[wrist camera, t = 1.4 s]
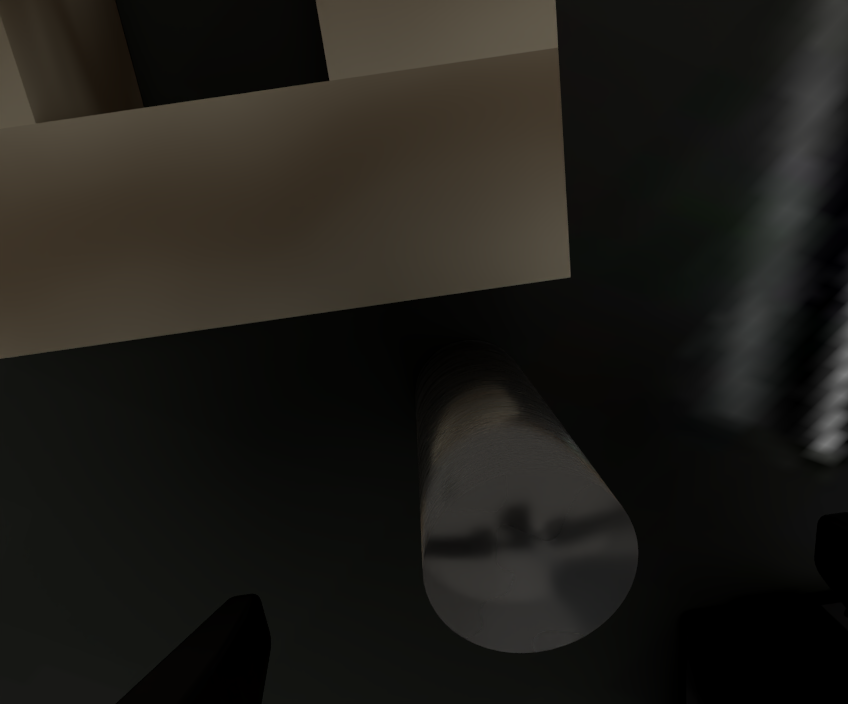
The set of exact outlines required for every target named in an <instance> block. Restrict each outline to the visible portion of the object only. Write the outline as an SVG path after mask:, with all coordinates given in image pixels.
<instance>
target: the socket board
mask: <svg viewBox="0 0 848 704" xmlns="http://www.w3.org/2000/svg"><path fill="white" fill-rule="evenodd" d="M316 5H317V11H318V16H319V22H320V28H321V34H322V40H323V45H324V51H325V57H326V63H327V69H328V74H329V80H330V81H325V82H318V83H311V84H304V85H298V86H291V87H284V88H277V89H270V90H263V91H256V92H249V93H243V94H236V95H229V96H222V97H215V98H208V99H201V100H195V101H188V102H181V103H174V104H167V105H160V106H153V107H146V108H144V105H143V102H142V98H141V94H140V91H139V87H138V83H137V79H136V76H135V72H134V68H133V65H132V61H131V57H130V53H129V50H128V46H127V42H126V39H125V35H124V31H123V28H122V24H121V20H120V16H119V13H118V9H117V5H116V2H115V0H0V359H2V358H9V357H16V356H23V355H30V354H37V353H44V352H51V351H58V350H65V349H72V348H79V347H86V346H93V345H100V344H107V343H114V342H121V341H128V340H135V339H142V338H149V337H156V336H163V335H170V334H177V333H184V332H191V331H198V330H205V329H212V328H219V327H226V326H233V325H240V324H247V323H254V322H261V321H268V320H275V319H282V318H289V317H296V316H303V315H310V314H317V313H324V312H331V311H338V310H345V309H352V308H359V307H366V306H373V305H380V304H387V303H394V302H401V301H408V300H415V299H422V298H429V297H436V296H443V295H450V294H457V293H464V292H471V291H478V290H485V289H492V288H499V287H506V286H513V285H520V284H527V283H534V282H541V281H548V280H555V279H562V278H569V277H571V274H570V256H569V238H568V220H567V202H566V183H565V165H564V147H563V129H562V111H561V93H560V75H559V57H558V39H557V21H556V3H555V0H316Z"/></svg>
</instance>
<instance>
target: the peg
mask: <svg viewBox="0 0 848 704" xmlns="http://www.w3.org/2000/svg"><path fill="white" fill-rule="evenodd" d="M415 402H416V425H417V449H418V472H419V496H420V519H421V543H422V566H423V580H424V585H425V589H426V593H427V596H428V598H429V600H430V603H431V605H432V606H433V608H434V610H435V611H436V613H437V614H438V616H439V617H440V618H441V619H442V620H443V622H444V623H445V624H446V625H447V626H449V627H450V628H451V629H452V630H453V631H454V632H456V633H457V634H459V635H460V636H462V637H463V638H465V639H467V640H469V641H471V642H473V643H474V644H477V645H480V646H482V647H485V648H489V649H493V650H497V651H502V652H510V653H531V652H541V651H546V650H551V649H555V648H558V647H561V646H565V645H567V644H570V643H572V642H574V641H577V640H579V639H580V638H582V637H584V636H586V635H588V634H589V633H591V632H592V631H594V630H595V629H597V628H598V627H600V626H601V625H602V624H603V623H604V622H605V621H606V620H608V619H609V618H610V617H611V616H612V614H613V613H614V612H615V611H616V610H617V609H618V608H619V606H620V605H621V603H622V602H623V601H624V599H625V598H626V596H627V594H628V592H629V590H630V588H631V586H632V583H633V580H634V578H635V574H636V569H637V565H638V544H637V538H636V534H635V530H634V527H633V525H632V523H631V520H630V518H629V516H628V515H627V513H626V512H625V510H624V509H623V507H622V506H621V504H620V503H619V502H618V500H617V499H616V498H615V496H614V495H613V493H612V492H611V491H610V489H609V488H608V487H607V485H606V484H605V483H604V481H603V480H602V479H601V477H600V476H599V474H598V473H597V472H596V470H595V469H594V468H593V466H592V465H591V464H590V462H589V461H588V460H587V458H586V457H585V455H584V454H583V453H582V451H581V450H580V449H579V447H578V446H577V445H576V443H575V442H574V441H573V439H572V438H571V436H570V435H569V434H568V432H567V431H566V430H565V428H564V427H563V426H562V424H561V423H560V422H559V420H558V419H557V418H556V416H555V415H554V413H553V412H552V411H551V409H550V408H549V407H548V405H547V404H546V403H545V401H544V400H543V399H542V397H541V396H540V394H539V393H538V392H537V390H536V389H535V388H534V386H533V385H532V384H531V382H530V381H529V380H528V378H527V377H526V375H525V374H524V373H523V371H522V370H521V369H520V367H519V366H518V365H517V363H516V362H515V361H514V359H513V358H512V357H511V356H510V355H509V354H508V353H507V352H506V351H504V350H503V349H501V348H500V347H498V346H496V345H494V344H491V343H488V342H484V341H479V340H465V341H459V342H455V343H452V344H449V345H447V346H445V347H443V348H442V349H440V350H439V351H437V352H436V353H435V354H433V355H432V356H431V357H430V358H429V359H428V361H427V362H426V363H425V365H424V366H423V367H422V369H421V371H420V373H419V376H418V379H417V382H416V388H415Z"/></svg>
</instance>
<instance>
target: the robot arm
mask: <svg viewBox="0 0 848 704" xmlns="http://www.w3.org/2000/svg"><path fill="white" fill-rule="evenodd" d="M814 560H815V565H816V567H817V570H818V572H819V574H820V575H821V577H822V578H823V579H824V581H825V582H826V583H827V585H828V586H829V587H830V588H831V590H832V591H833V592H834V594H829V595H821V596H814V597H807V598H800V599H792V600H785V601H778V602H771V603H764V604H756V605H749V606H742V607H735V608H728V609H720V610H713V611H706V612H699V613H693V614H690V615H688V616H687V617H685V618H684V620H683V621H682V624H681V685H680V704H848V512H842V513H835V514H828V515H824V516H822V517H821V518H820V519H819V521H818V524H817V533H816V544H815V555H814ZM270 650H271V636H270V631H269V628H268V624H267V621H266V617H265V613H264V610H263V606H262V603H261V600H260V598H259V596H258V595H256V594H247V595H240V596H234V597H231V598H230V599H228V600H227V601H226V602H225V603H224V604H223V605H222V606H221V607H220V608H219V609H217V610H216V611H215V612H214V613H213V614H212V615H211V616H210V617H209V618H208V619H207V620H206V621H205V622H203V623H202V624H201V625H200V626H199V627H198V628H197V629H196V630H195V631H194V632H193V633H192V634H190V635H189V636H188V637H187V638H186V639H185V640H184V641H183V642H182V643H181V644H180V645H179V646H178V647H176V648H175V649H174V650H173V651H172V652H171V653H170V654H169V655H168V656H167V657H166V658H165V659H164V660H162V661H161V662H160V663H159V664H158V665H157V666H156V667H155V668H154V669H153V670H152V671H151V672H150V673H148V674H147V675H146V676H145V677H144V678H143V679H142V680H141V681H140V682H139V683H138V684H137V685H135V686H134V687H133V688H132V689H131V690H130V691H129V692H128V693H127V694H126V695H125V696H124V697H123V698H121V699H120V700H119V701H118V702H117V703H116V704H261V703H262V697H263V692H264V686H265V680H266V674H267V668H268V662H269V656H270Z"/></svg>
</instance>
